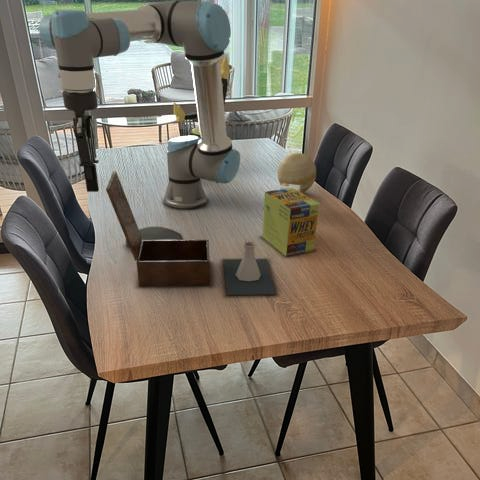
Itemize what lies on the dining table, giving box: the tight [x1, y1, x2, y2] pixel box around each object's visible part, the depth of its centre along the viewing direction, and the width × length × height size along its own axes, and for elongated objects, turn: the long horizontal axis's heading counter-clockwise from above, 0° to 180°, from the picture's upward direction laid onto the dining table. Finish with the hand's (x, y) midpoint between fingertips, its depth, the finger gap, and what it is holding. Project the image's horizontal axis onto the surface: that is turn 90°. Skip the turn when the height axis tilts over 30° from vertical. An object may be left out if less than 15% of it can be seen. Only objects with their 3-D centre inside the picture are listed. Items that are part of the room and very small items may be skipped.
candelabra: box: [173, 54, 231, 139], centre depth 207 cm, size 19×22×45 cm
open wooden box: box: [136, 239, 211, 288], centre depth 141 cm, size 19×13×8 cm
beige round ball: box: [277, 152, 317, 193], centre depth 196 cm, size 15×15×15 cm
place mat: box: [223, 258, 276, 297], centre depth 143 cm, size 20×13×1 cm, turn 4°
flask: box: [236, 240, 261, 281], centre depth 140 cm, size 7×7×10 cm
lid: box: [105, 170, 142, 262], centre depth 133 cm, size 20×13×1 cm
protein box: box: [261, 188, 320, 257], centre depth 157 cm, size 10×15×16 cm
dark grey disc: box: [125, 226, 183, 250], centre depth 158 cm, size 15×15×3 cm
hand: (92, 190), depth 128 cm, fingers closed
